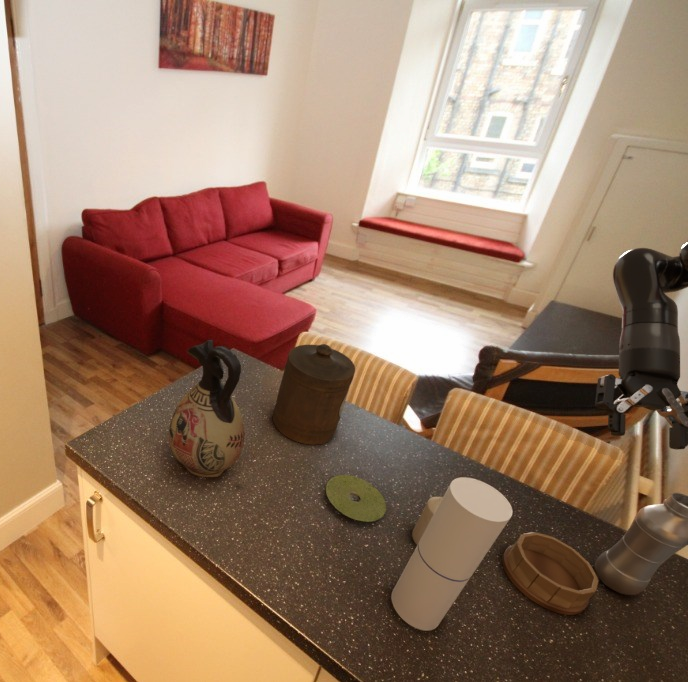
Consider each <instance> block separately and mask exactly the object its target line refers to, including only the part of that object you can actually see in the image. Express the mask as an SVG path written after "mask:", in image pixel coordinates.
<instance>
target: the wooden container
mask: <svg viewBox="0 0 688 682" xmlns="http://www.w3.org/2000/svg"><path fill="white" fill-rule="evenodd" d="M355 373H356V366H355V363H354V362H353V360H351V359H350V357H348V356H347V355H346V354H344V353H342V352H340V351H339V350H337V349H334V348H332V347H331V346H330V345H328V344H326V343H322V344H300V345H297V346H295V347H293V348H291V349H290V351H289V352H288V354H287V357H286V362H285V367H284V370H283V374H282V378H281V380H280V384H279V388H278V393H277V397H276V401H275V405H274V408H273V413H272V422H273V424H274V426H275V428H276V429H277V430H278V431H279V432H280V433H281V434H282V435H283V436H285V437H287V438H288V439H290V440H292V441H294V442H297V443H300V444H304V445H323V444H326V443H328V442H330V441H331V440H332V439H333V438H334V436H335V434H336V432H337V431H336V430H337V428H338V425H339V422H340V420H341V416H342V413H343V410H344V406H345V403H346V399H347V396H348V393H349V391H350V390H349V389H350V386H351V385H352V382H353V380H354V376H355Z"/></svg>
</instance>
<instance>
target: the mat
mask: <svg viewBox="0 0 688 682" xmlns="http://www.w3.org/2000/svg"><path fill="white" fill-rule="evenodd" d="M325 494H326V496H327V499H328V500H329V502H330V503H331V505H332V506H333V507H334V508H335V509H336V510H337V511H338V512H340V513H341V514H342V515H344V516H346V517H347V518H350V519H353V520H356V521H359V522H368V523H369V522H371V523H372V522H375V521H377V520H378V521H379V520H380V519H382V518H383V517H384V516H385V514H386V511H387V504H386V499H385V498H384V497H383V495H382V493H381V492H380V491H379V490H378V489H377V488H376V487H375V486H374V485H372V484H371V483H369V482H368V481H367V480H365V479H363V478H360V477H357V476H354V475H350V474H349V475H348V474H339V475H335V476H333V477H331V478H330V479H329V480H328V481H327V483H326V486H325Z"/></svg>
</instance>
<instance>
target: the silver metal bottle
mask: <svg viewBox="0 0 688 682" xmlns="http://www.w3.org/2000/svg"><path fill="white" fill-rule="evenodd" d="M687 546H688V495H686V494H684V493H680V492H672V493H670V495H669V496H667V497H666V498H665V499H664V500H663V501H662V503H658V504H650V505H646V506H644V507H642V508H640V509H639V510H638V512H637V513H636V515H635V516H634V519H633V521H632V522H631V524H630V526H629V528H627V530H626V532H625V533H624V535H623V536H622V537H621V538H620V539H619V540H618V541H617V542H616V543H614V545H613V546H612V547H610V548H609V549H607V550H605V551H604V552H602V553H601V554H600V555H599V556H598V557H597V558H596V560H595V563H594V572H595V574H596V576H597V577H598V580H599V581H601V583H603V584H604V585H605V586H606V587H608V588H609V589H610V590H612V591H615V592H616V593H618V594H622V595H626V596H636V595H638V594H640V593H641V592H644V591H645V590H646V588H647V587H648V585H649V584H650V582H651V580H652V577H654V575H655V573H656V572H657V571H658V569H659V568H660V566H662V565H663V564H664V563H665V562H666V561H667V560H668V559H670V558H671V557H672V556H674V555H675V554H676V553H678V552H679V551H681V550H683V549H684V548H685V547H687Z"/></svg>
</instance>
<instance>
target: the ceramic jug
mask: <svg viewBox="0 0 688 682" xmlns="http://www.w3.org/2000/svg"><path fill="white" fill-rule="evenodd" d="M186 352H187V354H189V355H190V356H192V357H193V358H195V360H197V362H198V363H199V364H200V365H201V366H202V377H201V379H200V380H199V381H198V383H197V384H196V385H194V386H193V387H192V388H191V389H190V390H189V391H188V392H187V393H186V395H184V396H183V397H182V399H181V400H180V401H179V402H178V404H177V405H176V407H175V409H174V412H173V414H172V416H171V420H170V423H169V427H168V443H169V447H170V450H171V452H172V455H173V456H174V457H175V459H176V460H177V461H178V462H179V463H180V464H182V465H183V466H184V467H185V469H186V470H187V471H188V472H190V474H192V475H194V476H197V477H201V478H216V477H220V476H222V474H223V473H224V471H225V470H227V469H229V468H230V467H231V466H233V465H234V463H235V462H236V461H237V460H238V458H239V457H240V456H241V453H242V452H243V448H244V444H245V435H246V434H245V433H246V432H245V425H244V421H243V416H242V413H241V411H240V408H239V406H238V405H237V402H236V401H235V399H234V397H233V396H232V395H233V393H234V391H235V389H236V388H237V386H238V385H239V382H240V379H241V373H242V364H241V361H240V360H239V359H238V356H237V355H236V354H235V353H234V352H232V350H231V349H230V348H229V347H227V346H224V345H218V346H215V347H214V340H213V339H209V340H206V341H205V342H203V343H200V344H198V345H197V344H195V345H193V346H191V347H189V348H188V349H186ZM221 361H222V362H223V364H224V365H225V366H226V368H227V379H226V381H225V382H224V384H223V383H222V380H223V379H224V376H225V375H224V373H225V372H224V366H223V364H222V362H221Z"/></svg>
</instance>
